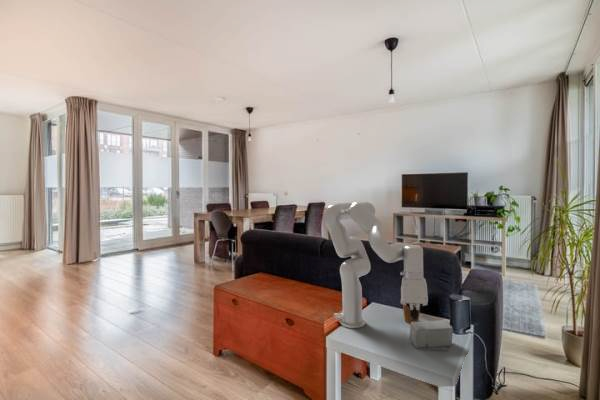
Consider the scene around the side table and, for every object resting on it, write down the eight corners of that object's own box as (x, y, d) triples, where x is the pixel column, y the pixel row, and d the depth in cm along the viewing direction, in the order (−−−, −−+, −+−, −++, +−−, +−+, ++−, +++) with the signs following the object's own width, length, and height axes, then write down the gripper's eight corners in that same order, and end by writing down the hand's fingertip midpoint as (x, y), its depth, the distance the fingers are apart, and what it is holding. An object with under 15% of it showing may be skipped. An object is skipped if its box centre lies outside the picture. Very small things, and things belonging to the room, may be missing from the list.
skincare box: (415, 330, 123) (454, 328, 124) (409, 320, 131) (445, 318, 131) (415, 349, 125) (453, 346, 125) (408, 338, 132) (444, 336, 132)
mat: (417, 349, 124) (417, 348, 124) (411, 335, 136) (411, 334, 136) (448, 351, 123) (448, 350, 122) (439, 336, 134) (439, 335, 134)
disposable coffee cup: (418, 317, 155) (418, 294, 154) (424, 325, 145) (424, 301, 145) (399, 316, 156) (399, 293, 155) (403, 325, 146) (403, 300, 146)
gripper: (396, 277, 124) (397, 321, 124) (435, 277, 121) (435, 323, 122) (393, 272, 131) (394, 313, 132) (430, 272, 129) (430, 315, 129)
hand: (414, 318), depth 127 cm, fingers closed
